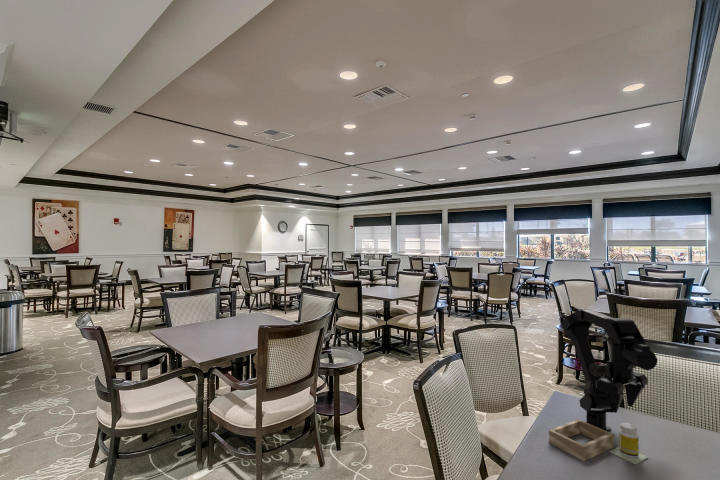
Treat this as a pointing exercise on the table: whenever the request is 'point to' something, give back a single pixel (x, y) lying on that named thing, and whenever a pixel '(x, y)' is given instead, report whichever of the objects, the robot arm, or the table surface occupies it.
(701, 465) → the table surface
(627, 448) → the supplement bottle
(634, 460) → the sage mat
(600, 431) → the wooden box
